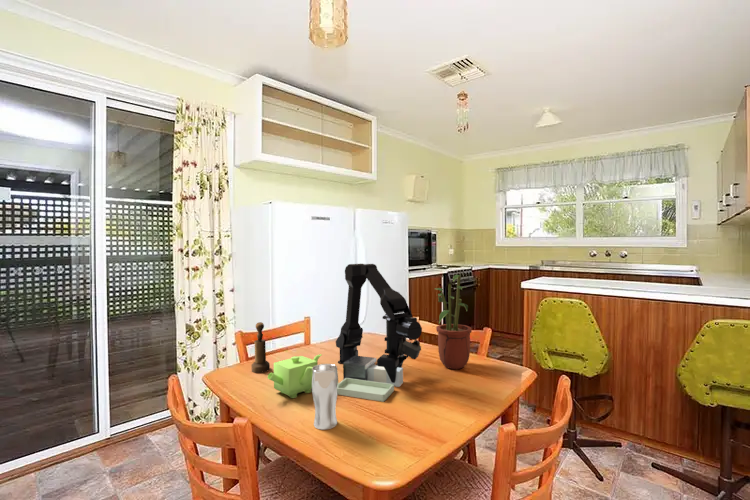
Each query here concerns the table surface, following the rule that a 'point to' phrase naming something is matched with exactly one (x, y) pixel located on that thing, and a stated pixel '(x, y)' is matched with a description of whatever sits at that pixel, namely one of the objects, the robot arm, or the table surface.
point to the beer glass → (325, 395)
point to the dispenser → (357, 367)
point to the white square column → (383, 375)
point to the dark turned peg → (260, 352)
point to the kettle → (293, 375)
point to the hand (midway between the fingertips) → (395, 380)
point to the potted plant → (453, 333)
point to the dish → (365, 389)
